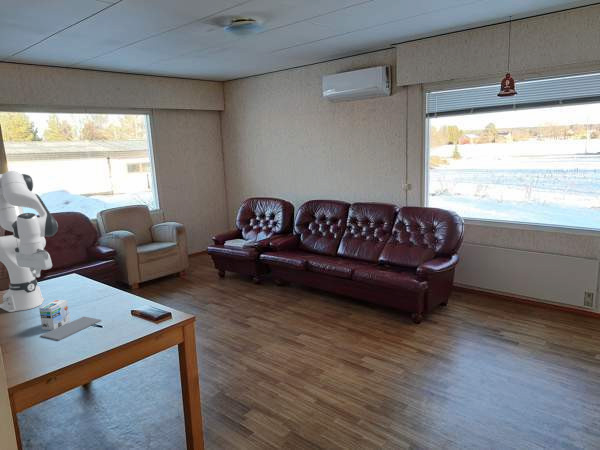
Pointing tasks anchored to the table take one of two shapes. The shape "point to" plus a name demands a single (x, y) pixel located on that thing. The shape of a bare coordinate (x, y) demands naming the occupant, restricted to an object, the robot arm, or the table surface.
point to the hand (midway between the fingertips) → (36, 276)
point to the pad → (70, 328)
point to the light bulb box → (54, 314)
